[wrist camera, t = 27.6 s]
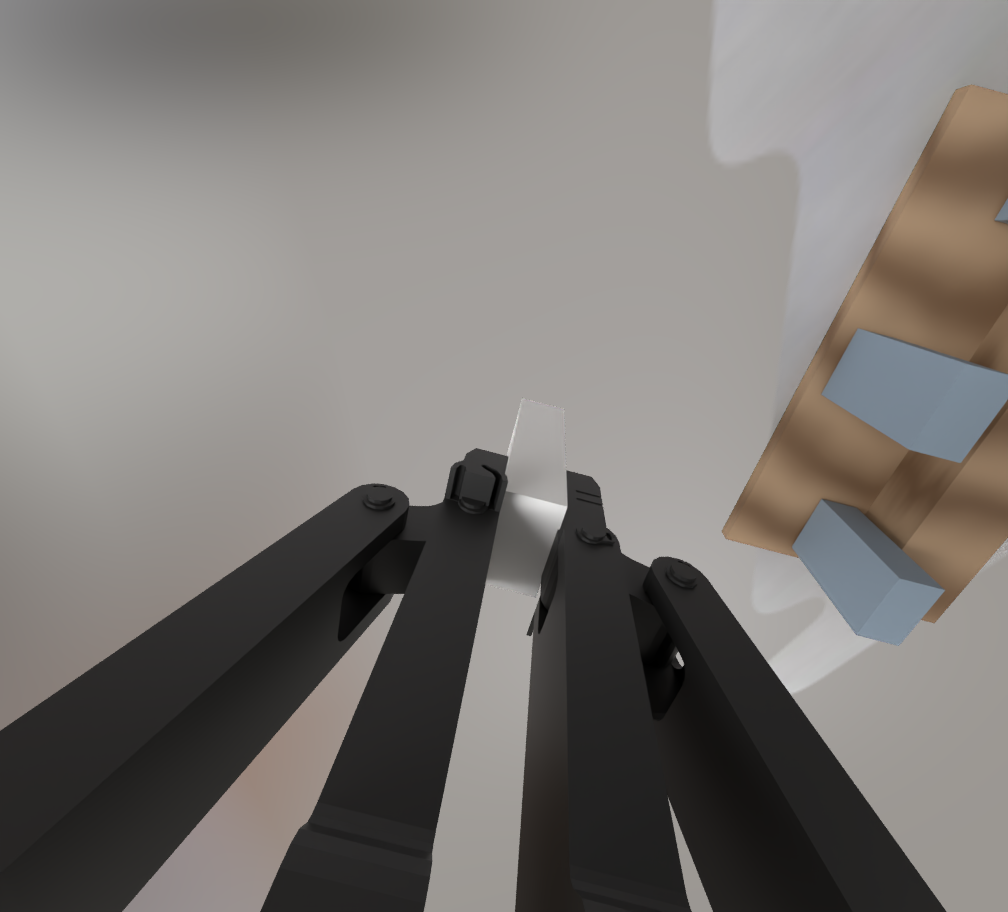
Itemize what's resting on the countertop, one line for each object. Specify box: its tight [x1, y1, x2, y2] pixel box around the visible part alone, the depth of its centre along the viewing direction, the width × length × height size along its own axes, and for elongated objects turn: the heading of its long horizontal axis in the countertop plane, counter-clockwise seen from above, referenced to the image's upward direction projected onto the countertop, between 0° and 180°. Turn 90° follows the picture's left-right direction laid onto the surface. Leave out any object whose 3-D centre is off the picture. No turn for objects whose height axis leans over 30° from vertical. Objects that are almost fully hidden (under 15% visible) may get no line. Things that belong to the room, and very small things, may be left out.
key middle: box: [821, 328, 1008, 463], centre depth 30 cm, size 5×3×10 cm, turn 167°
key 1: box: [792, 499, 945, 646], centre depth 36 cm, size 5×3×10 cm, turn 167°
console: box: [722, 85, 1008, 623], centre depth 34 cm, size 33×16×6 cm, turn 167°
